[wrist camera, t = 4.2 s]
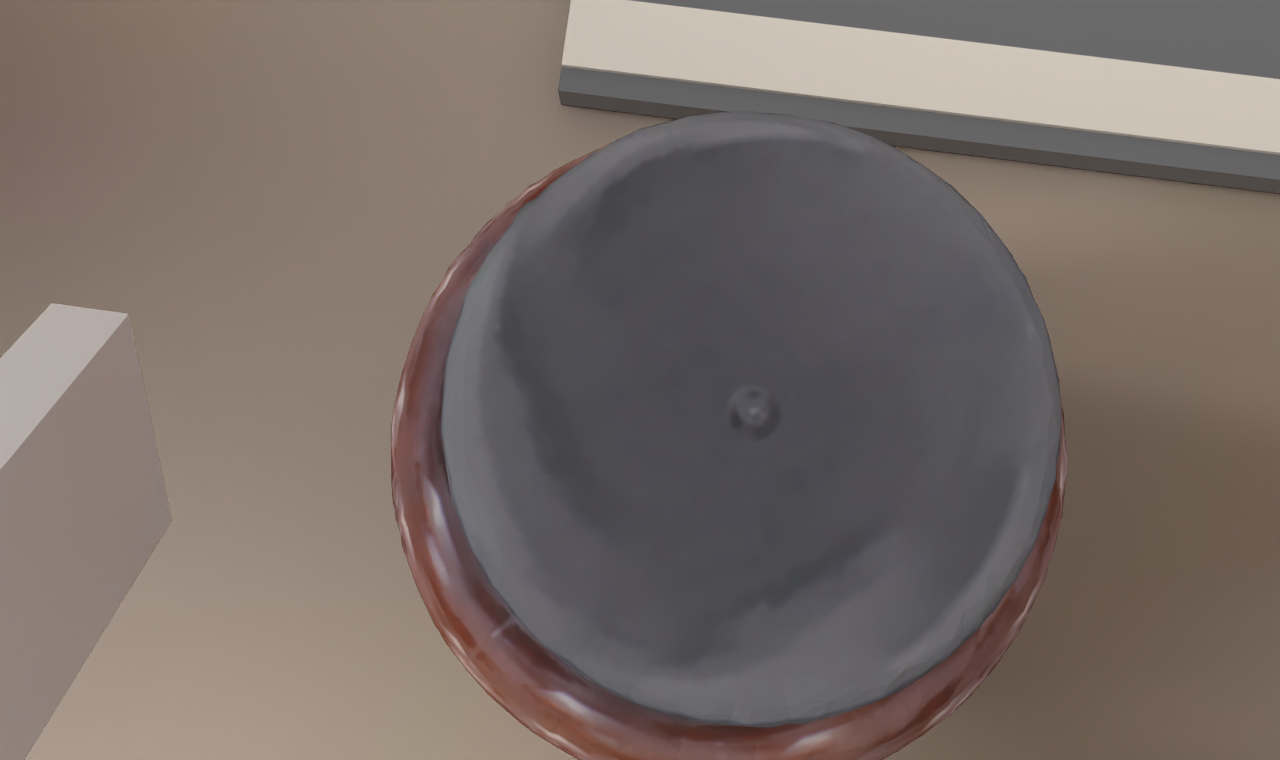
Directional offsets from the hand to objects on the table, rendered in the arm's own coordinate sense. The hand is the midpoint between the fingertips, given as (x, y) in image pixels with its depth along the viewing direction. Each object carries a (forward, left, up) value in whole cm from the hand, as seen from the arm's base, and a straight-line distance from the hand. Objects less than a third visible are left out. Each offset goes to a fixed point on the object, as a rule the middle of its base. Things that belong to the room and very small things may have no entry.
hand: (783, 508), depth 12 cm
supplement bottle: (-1, 0, -7) cm, 7 cm away
